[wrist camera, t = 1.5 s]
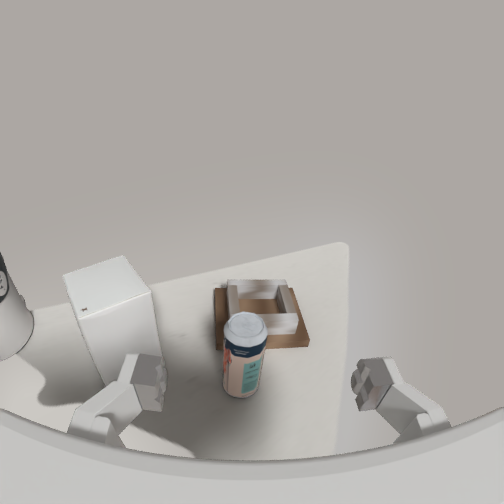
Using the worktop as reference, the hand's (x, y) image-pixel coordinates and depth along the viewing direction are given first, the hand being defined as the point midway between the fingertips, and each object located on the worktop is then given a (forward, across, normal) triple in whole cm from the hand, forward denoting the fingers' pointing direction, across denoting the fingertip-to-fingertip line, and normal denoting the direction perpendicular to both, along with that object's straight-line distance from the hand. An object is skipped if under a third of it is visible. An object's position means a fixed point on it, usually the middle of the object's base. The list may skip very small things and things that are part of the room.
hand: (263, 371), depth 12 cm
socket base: (+30, +3, -23) cm, 38 cm away
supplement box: (+19, -16, -24) cm, 34 cm away
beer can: (+17, 0, -24) cm, 29 cm away
